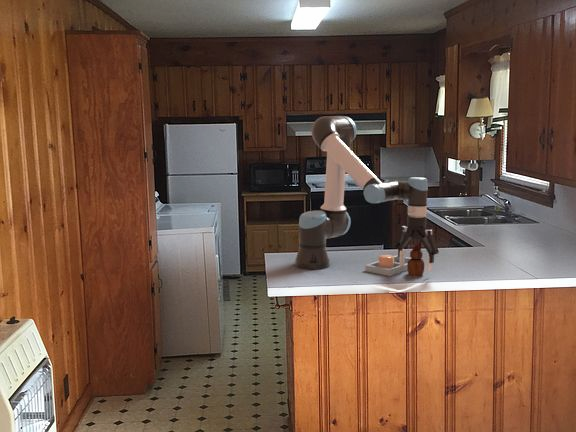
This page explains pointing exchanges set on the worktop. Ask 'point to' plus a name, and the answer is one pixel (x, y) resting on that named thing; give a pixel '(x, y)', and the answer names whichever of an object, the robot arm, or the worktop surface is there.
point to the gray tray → (384, 271)
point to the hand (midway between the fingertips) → (415, 268)
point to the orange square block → (386, 261)
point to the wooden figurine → (416, 261)
